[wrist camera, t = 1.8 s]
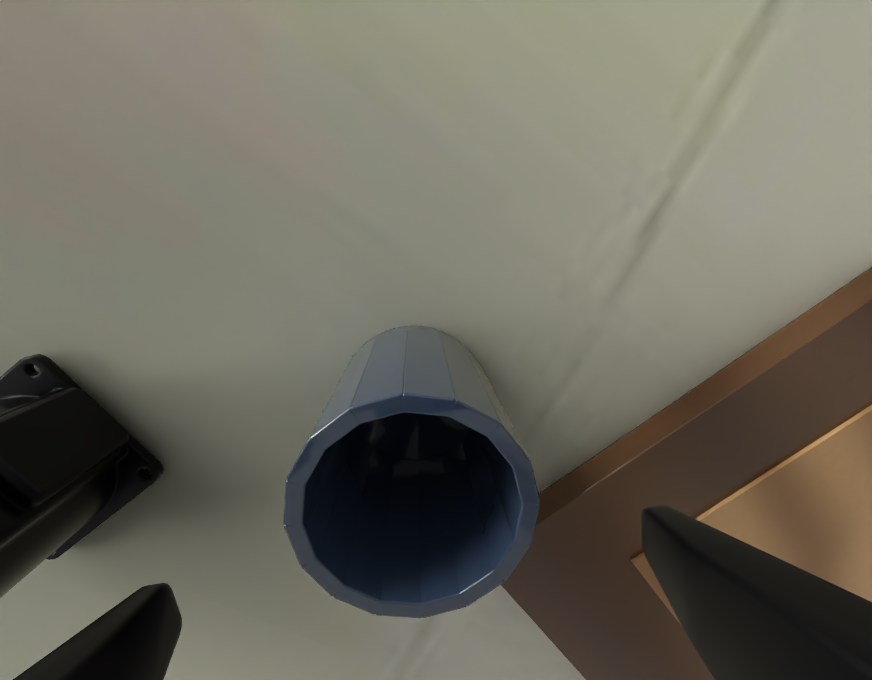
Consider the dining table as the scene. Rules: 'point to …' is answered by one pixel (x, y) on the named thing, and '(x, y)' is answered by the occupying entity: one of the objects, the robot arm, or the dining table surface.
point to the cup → (411, 481)
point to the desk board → (714, 493)
